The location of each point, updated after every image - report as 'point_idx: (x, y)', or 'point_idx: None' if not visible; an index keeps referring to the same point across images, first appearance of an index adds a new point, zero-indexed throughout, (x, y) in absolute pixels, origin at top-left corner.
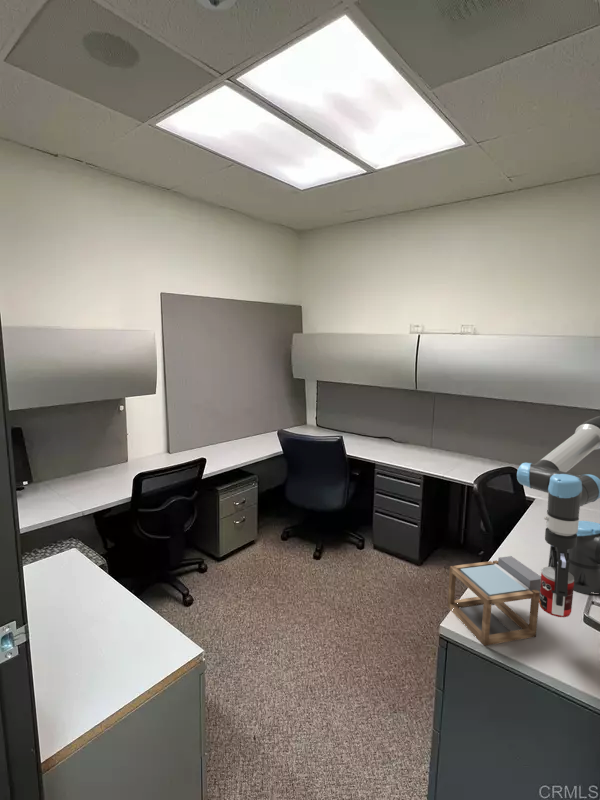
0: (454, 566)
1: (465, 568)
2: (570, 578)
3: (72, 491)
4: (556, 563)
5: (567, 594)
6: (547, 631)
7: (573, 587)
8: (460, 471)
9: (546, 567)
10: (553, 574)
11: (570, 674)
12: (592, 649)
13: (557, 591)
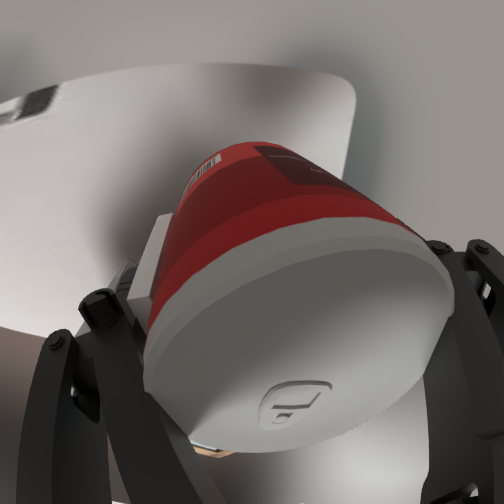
0: (212, 455)
1: (202, 446)
2: (368, 276)
3: None
4: (205, 481)
5: (489, 246)
6: (151, 182)
7: (334, 185)
8: None
9: (228, 447)
10: (322, 400)
11: (319, 120)
12: (164, 66)
13: (483, 305)
